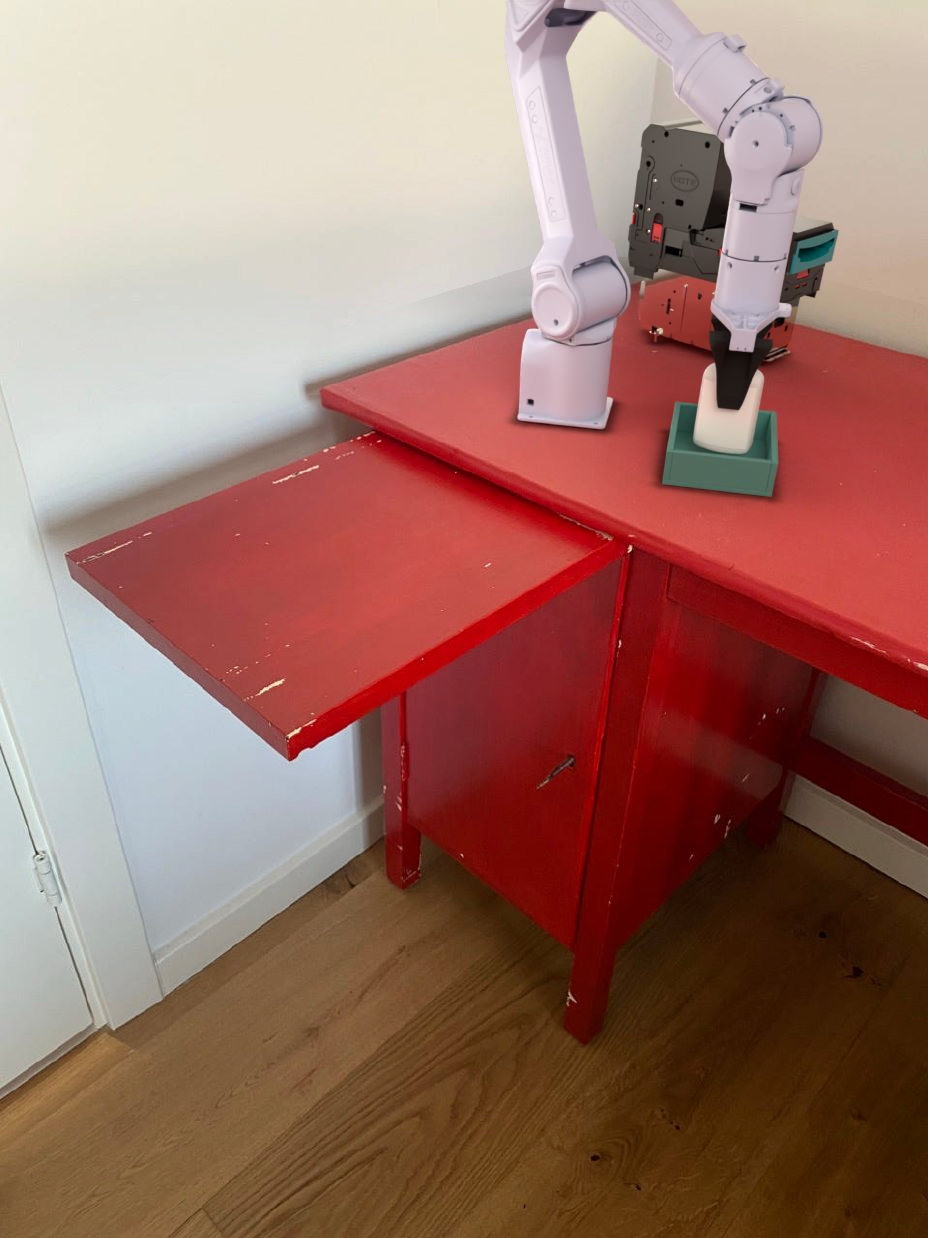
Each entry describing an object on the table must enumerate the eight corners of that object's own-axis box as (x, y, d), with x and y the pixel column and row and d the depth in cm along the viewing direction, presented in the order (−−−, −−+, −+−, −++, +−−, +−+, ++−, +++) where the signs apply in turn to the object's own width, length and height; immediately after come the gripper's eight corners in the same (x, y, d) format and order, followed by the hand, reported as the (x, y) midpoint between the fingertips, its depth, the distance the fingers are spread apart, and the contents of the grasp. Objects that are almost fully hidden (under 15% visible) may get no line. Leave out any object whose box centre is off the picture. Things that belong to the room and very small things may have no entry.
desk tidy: (661, 484, 93) (666, 451, 91) (671, 432, 103) (675, 401, 101) (771, 497, 91) (778, 463, 89) (770, 442, 101) (776, 411, 99)
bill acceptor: (768, 379, 115) (813, 148, 101) (615, 331, 129) (636, 121, 114) (813, 357, 121) (862, 136, 107) (663, 314, 135) (688, 112, 120)
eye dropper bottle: (727, 462, 93) (749, 339, 86) (685, 441, 97) (703, 322, 90) (758, 450, 95) (782, 330, 88) (715, 431, 99) (735, 313, 92)
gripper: (804, 280, 79) (773, 434, 87) (799, 235, 90) (771, 375, 98) (716, 273, 80) (692, 426, 88) (721, 230, 92) (700, 369, 100)
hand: (729, 399), depth 93 cm, fingers closed on eye dropper bottle, 3 cm apart
